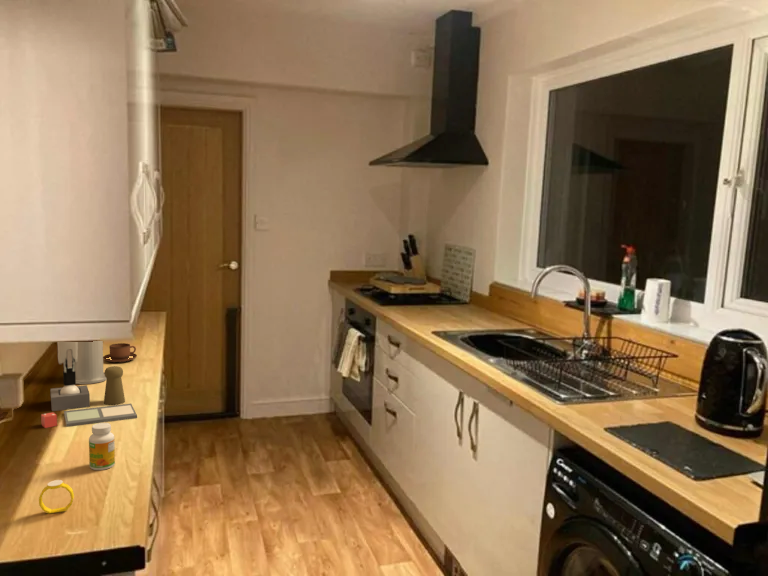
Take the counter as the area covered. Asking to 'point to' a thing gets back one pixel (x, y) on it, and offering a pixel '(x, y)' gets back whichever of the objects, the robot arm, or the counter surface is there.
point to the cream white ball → (69, 390)
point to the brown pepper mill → (114, 386)
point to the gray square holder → (70, 399)
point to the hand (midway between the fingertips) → (69, 384)
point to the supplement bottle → (101, 447)
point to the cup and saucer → (120, 353)
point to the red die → (49, 420)
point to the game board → (99, 414)
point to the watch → (55, 485)
